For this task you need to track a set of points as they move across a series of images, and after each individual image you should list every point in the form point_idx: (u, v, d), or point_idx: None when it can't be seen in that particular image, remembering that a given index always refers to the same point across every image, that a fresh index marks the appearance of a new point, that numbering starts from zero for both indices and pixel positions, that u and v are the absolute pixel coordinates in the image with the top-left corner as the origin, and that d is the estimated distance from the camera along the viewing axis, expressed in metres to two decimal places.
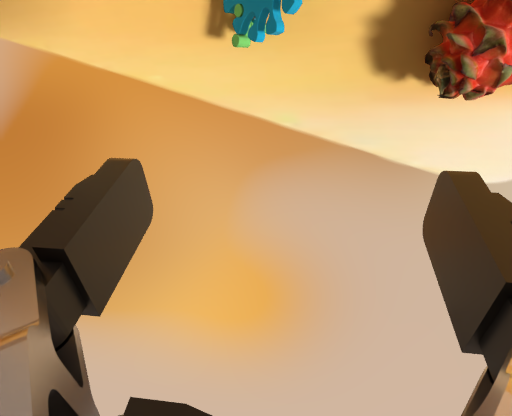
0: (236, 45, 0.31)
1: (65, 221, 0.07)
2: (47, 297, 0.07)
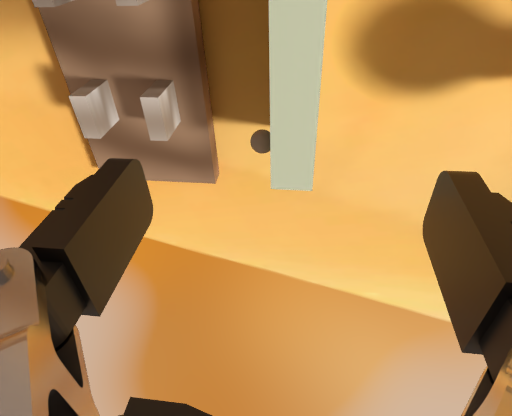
0: None
1: (65, 221, 0.07)
2: (47, 297, 0.07)
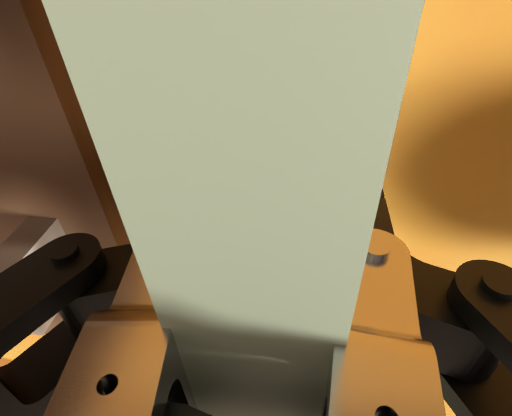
0: None
1: None
2: None
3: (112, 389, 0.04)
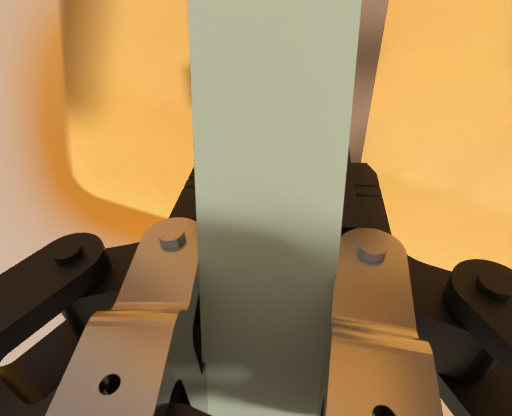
0: None
1: None
2: None
3: (114, 389, 0.04)
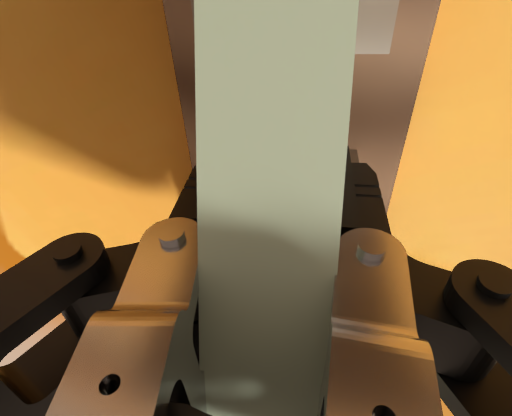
0: None
1: None
2: None
3: (114, 389, 0.04)
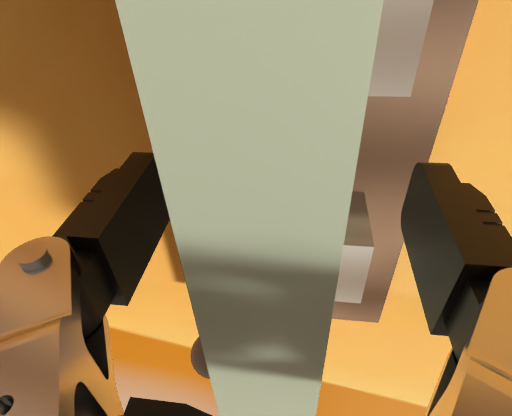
0: None
1: (96, 212, 0.08)
2: (82, 285, 0.07)
3: None
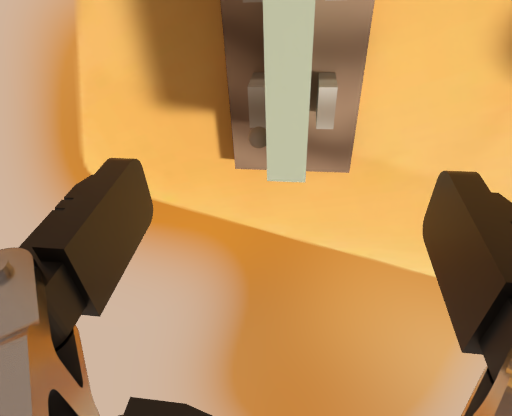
0: None
1: (65, 221, 0.07)
2: (47, 297, 0.07)
3: None
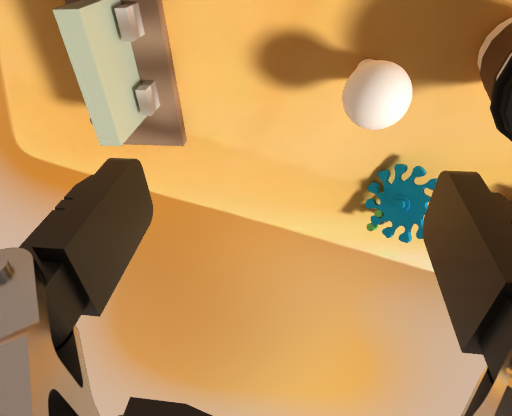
0: (370, 230, 0.48)
1: (65, 221, 0.07)
2: (47, 297, 0.07)
3: None
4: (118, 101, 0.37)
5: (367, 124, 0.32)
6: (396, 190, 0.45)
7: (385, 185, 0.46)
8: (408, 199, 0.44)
